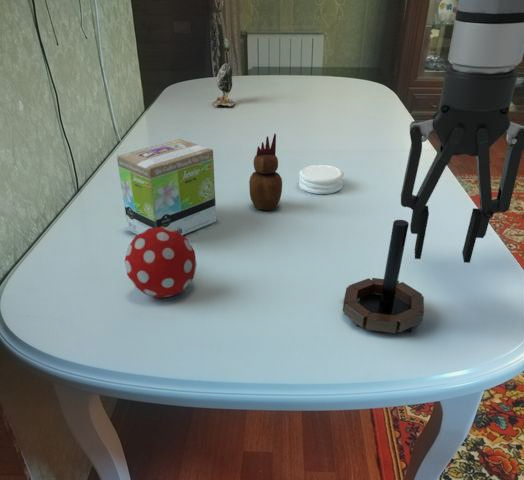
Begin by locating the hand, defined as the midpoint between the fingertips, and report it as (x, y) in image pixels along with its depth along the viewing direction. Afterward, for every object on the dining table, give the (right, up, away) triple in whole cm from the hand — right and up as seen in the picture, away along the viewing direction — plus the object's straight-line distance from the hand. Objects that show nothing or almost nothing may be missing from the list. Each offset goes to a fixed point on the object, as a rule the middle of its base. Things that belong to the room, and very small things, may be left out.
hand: (441, 255), depth 70 cm
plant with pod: (-38, +72, +106) cm, 134 cm away
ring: (-6, -7, +7) cm, 12 cm away
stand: (-6, -8, +8) cm, 12 cm away
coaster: (-11, +25, +48) cm, 55 cm away
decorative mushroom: (-41, -2, +15) cm, 44 cm away
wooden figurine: (-24, +17, +39) cm, 49 cm away
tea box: (-42, +11, +32) cm, 54 cm away
